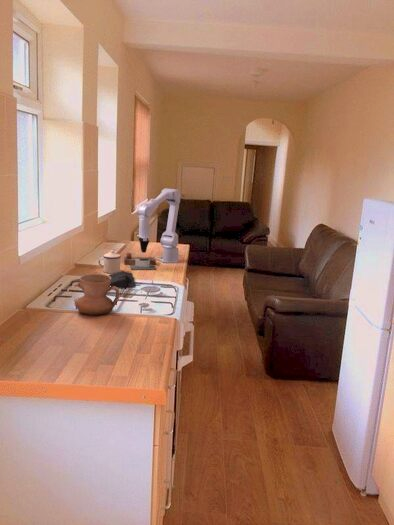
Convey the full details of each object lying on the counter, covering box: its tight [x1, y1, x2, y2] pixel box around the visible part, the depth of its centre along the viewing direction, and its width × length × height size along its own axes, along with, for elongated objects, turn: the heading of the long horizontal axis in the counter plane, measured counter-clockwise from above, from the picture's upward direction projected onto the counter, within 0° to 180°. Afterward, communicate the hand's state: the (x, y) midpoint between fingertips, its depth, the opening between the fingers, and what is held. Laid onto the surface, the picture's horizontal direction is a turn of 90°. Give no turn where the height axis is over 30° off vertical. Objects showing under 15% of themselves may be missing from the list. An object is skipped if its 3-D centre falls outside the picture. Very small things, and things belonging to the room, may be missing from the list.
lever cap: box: [135, 258, 150, 268], centre depth 255 cm, size 8×5×5 cm, turn 100°
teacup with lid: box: [97, 250, 121, 275], centre depth 241 cm, size 12×9×12 cm
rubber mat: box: [129, 265, 157, 271], centre depth 255 cm, size 14×9×1 cm, turn 102°
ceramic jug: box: [73, 273, 121, 316], centre depth 178 cm, size 18×14×14 cm
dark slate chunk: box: [108, 270, 135, 289], centre depth 224 cm, size 15×22×5 cm
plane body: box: [123, 252, 157, 266], centre depth 265 cm, size 18×8×6 cm, turn 102°
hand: (143, 251), depth 253 cm, fingers open, 4 cm apart
